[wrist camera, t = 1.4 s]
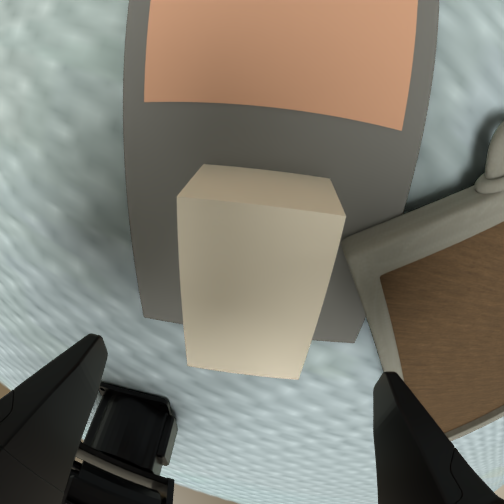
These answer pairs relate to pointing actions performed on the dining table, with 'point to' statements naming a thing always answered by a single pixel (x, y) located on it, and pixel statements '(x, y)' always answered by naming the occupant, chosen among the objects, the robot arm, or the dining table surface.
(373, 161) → the mat
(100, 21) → the dining table surface
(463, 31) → the dining table surface
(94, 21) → the dining table surface
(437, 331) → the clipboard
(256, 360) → the beige rectangular block
